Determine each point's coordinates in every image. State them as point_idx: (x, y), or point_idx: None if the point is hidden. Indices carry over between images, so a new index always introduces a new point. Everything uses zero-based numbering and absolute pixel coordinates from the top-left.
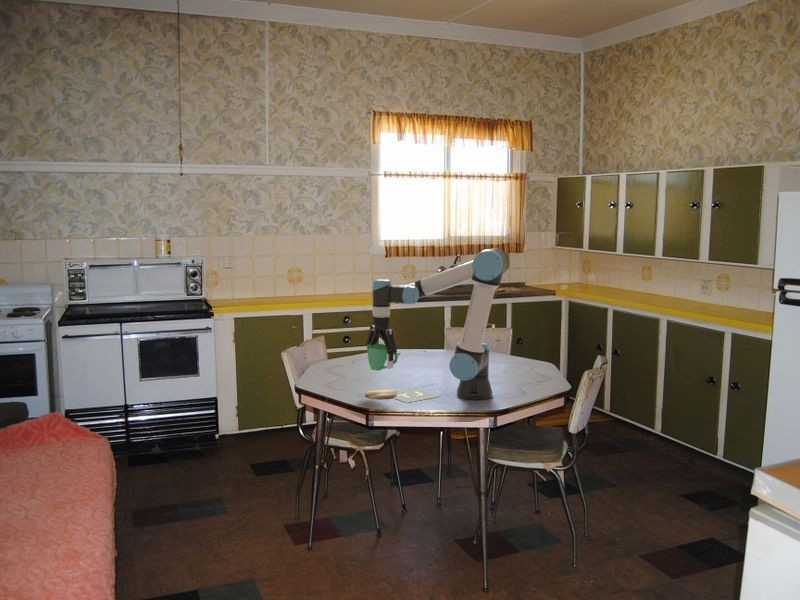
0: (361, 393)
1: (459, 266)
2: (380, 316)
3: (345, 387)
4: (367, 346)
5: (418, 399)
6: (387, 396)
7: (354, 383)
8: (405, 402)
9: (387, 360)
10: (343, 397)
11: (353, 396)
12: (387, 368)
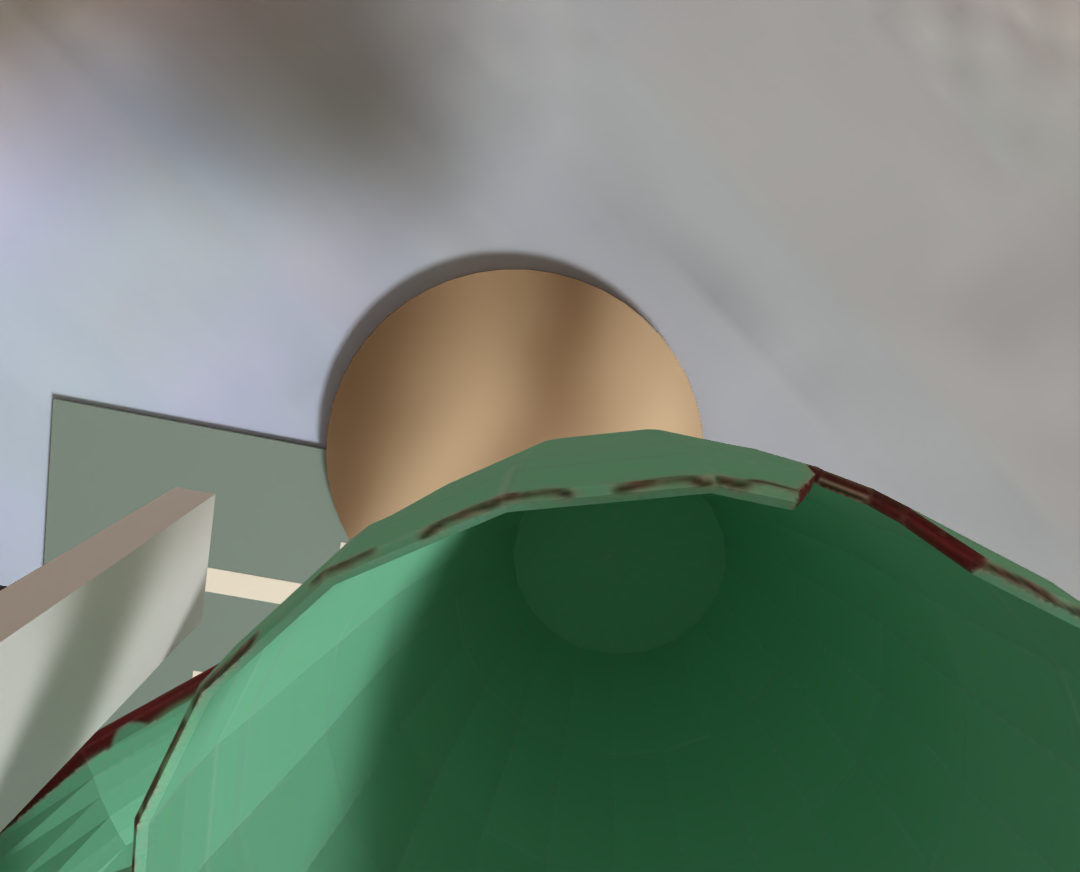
0: (723, 342)
1: None
2: None
3: (1047, 401)
4: (1016, 574)
5: None
6: (365, 412)
7: (1073, 591)
8: (76, 402)
9: (72, 564)
10: (765, 52)
11: (703, 176)
12: (182, 491)
